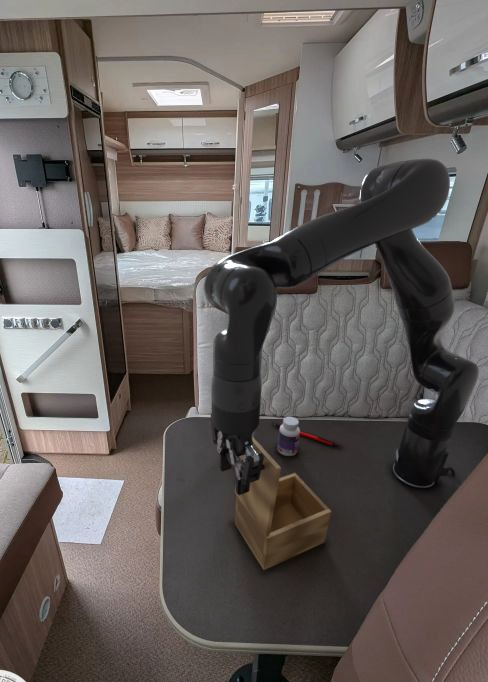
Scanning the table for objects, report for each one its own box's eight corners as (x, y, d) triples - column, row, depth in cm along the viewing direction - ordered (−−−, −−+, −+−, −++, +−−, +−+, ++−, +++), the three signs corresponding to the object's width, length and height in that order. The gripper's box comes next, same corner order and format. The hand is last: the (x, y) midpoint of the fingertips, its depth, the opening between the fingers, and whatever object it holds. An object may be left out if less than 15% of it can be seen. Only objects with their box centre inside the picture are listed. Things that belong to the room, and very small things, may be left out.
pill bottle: (297, 458, 97) (301, 428, 92) (276, 455, 98) (280, 425, 93) (297, 445, 101) (301, 416, 97) (277, 442, 102) (280, 414, 98)
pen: (337, 448, 101) (338, 444, 100) (273, 426, 110) (274, 423, 109) (338, 446, 101) (339, 443, 101) (275, 424, 110) (275, 421, 110)
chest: (290, 502, 83) (295, 472, 79) (324, 542, 74) (331, 511, 70) (234, 523, 78) (236, 493, 74) (263, 570, 68) (267, 538, 64)
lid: (245, 428, 67) (218, 434, 65) (281, 468, 58) (251, 476, 55) (238, 491, 74) (213, 499, 71) (269, 536, 64) (241, 546, 62)
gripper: (284, 415, 51) (275, 502, 58) (235, 372, 62) (233, 449, 70) (236, 429, 48) (233, 518, 56) (195, 381, 60) (197, 460, 67)
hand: (233, 479), depth 63 cm, fingers closed on lid, 5 cm apart
